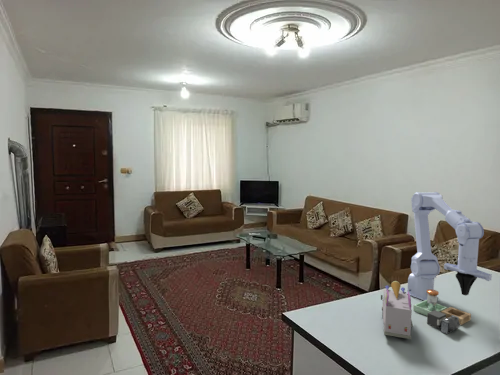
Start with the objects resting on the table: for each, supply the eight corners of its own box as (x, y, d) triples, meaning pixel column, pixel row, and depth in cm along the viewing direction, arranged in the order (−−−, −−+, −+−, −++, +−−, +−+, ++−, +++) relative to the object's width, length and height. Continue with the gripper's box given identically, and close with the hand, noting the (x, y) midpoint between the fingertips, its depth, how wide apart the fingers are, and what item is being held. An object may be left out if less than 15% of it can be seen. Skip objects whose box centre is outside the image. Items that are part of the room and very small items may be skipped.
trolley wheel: (438, 330, 115) (438, 319, 114) (448, 324, 119) (449, 313, 118) (450, 335, 111) (451, 324, 111) (461, 329, 115) (461, 318, 115)
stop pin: (423, 310, 129) (424, 290, 128) (429, 307, 131) (430, 288, 130) (433, 314, 125) (434, 294, 125) (439, 311, 127) (440, 292, 127)
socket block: (440, 317, 124) (441, 311, 124) (450, 312, 128) (450, 306, 128) (461, 325, 118) (461, 319, 118) (470, 319, 122) (471, 314, 122)
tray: (413, 310, 129) (413, 305, 129) (426, 305, 134) (426, 299, 134) (434, 319, 123) (434, 313, 123) (447, 312, 128) (447, 307, 128)
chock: (427, 324, 119) (427, 313, 119) (433, 320, 122) (434, 310, 121) (438, 328, 116) (439, 317, 116) (445, 325, 118) (446, 314, 118)
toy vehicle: (406, 317, 124) (408, 277, 122) (413, 345, 105) (415, 299, 104) (379, 313, 127) (381, 274, 125) (381, 340, 108) (383, 294, 107)
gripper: (440, 253, 122) (438, 289, 123) (486, 264, 110) (483, 304, 111) (450, 250, 126) (448, 285, 127) (495, 260, 114) (492, 299, 115)
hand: (465, 294), depth 119 cm, fingers closed
